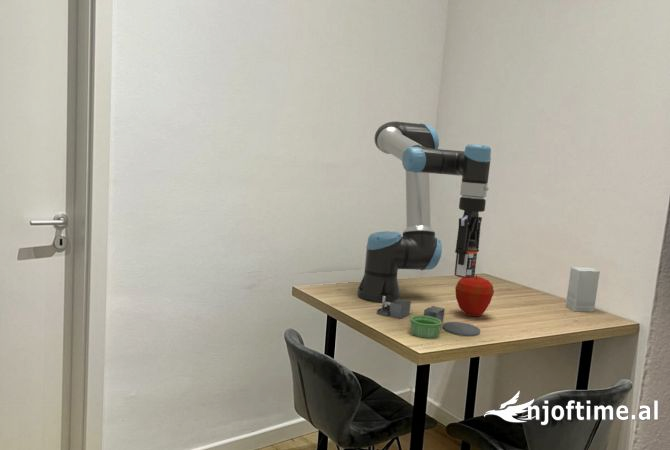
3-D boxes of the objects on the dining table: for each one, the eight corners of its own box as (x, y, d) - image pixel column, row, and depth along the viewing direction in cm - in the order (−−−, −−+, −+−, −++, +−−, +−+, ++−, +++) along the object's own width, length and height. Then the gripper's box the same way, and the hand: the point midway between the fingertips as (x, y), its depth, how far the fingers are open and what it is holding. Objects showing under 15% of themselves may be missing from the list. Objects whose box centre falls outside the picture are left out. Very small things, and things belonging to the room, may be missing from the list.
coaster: (437, 330, 178) (438, 327, 178) (450, 322, 188) (450, 319, 187) (473, 338, 173) (473, 336, 172) (484, 330, 182) (484, 327, 182)
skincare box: (584, 307, 222) (590, 267, 220) (595, 312, 215) (601, 271, 213) (564, 306, 220) (570, 265, 218) (574, 311, 214) (580, 269, 212)
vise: (375, 313, 190) (376, 298, 189) (387, 308, 198) (389, 293, 197) (433, 328, 180) (435, 312, 179) (444, 321, 188) (446, 306, 187)
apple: (446, 313, 197) (450, 272, 195) (464, 308, 206) (468, 268, 204) (479, 323, 189) (484, 280, 187) (496, 316, 198) (501, 276, 196)
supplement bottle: (474, 279, 174) (478, 241, 173) (454, 277, 175) (458, 239, 174) (474, 276, 180) (478, 239, 179) (454, 273, 181) (458, 237, 180)
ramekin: (442, 333, 176) (444, 319, 175) (435, 341, 168) (437, 326, 167) (413, 327, 179) (415, 313, 179) (405, 335, 171) (406, 320, 170)
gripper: (474, 199, 165) (465, 280, 168) (495, 198, 181) (486, 272, 183) (449, 196, 169) (440, 275, 171) (471, 195, 185) (463, 268, 187)
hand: (464, 273), depth 177 cm, fingers closed on supplement bottle, 6 cm apart
